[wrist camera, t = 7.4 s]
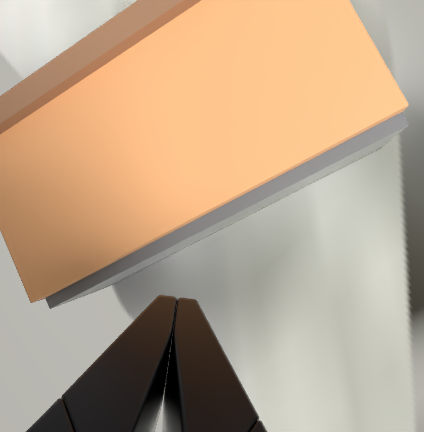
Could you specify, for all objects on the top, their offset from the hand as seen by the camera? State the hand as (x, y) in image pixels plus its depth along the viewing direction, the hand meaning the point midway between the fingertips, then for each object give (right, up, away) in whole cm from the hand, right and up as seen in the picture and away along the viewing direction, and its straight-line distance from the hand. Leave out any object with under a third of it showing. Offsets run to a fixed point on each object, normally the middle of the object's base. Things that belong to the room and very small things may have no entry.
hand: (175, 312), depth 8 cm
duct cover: (-1, +6, +7) cm, 9 cm away
